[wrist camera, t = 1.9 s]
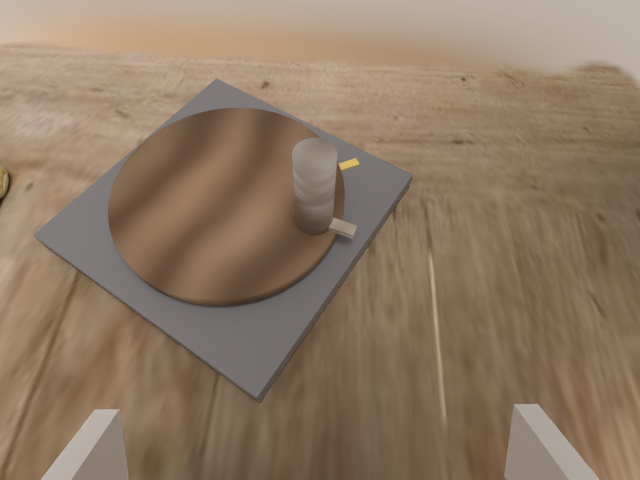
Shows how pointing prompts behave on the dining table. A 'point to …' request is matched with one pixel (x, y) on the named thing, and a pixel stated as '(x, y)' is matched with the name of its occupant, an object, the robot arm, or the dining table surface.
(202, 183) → the dial
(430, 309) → the dining table surface
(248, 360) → the base
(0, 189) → the bread roll
